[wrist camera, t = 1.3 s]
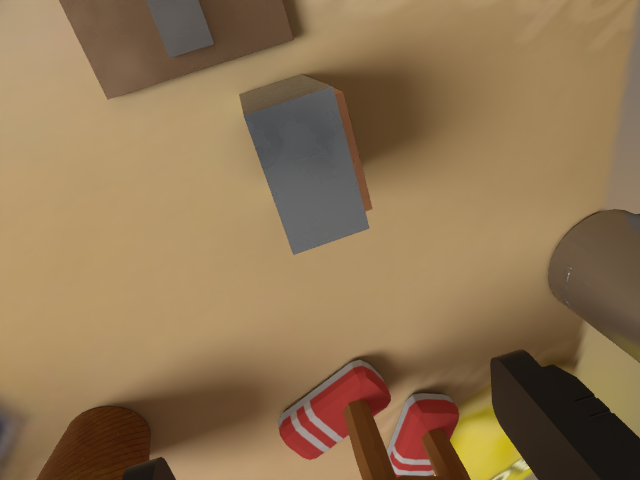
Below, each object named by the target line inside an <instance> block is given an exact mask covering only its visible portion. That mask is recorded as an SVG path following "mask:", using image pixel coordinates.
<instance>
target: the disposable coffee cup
mask: <svg viewBox="0 0 640 480" xmlns="http://www.w3.org/2000/svg"><path fill="white" fill-rule="evenodd" d="M150 435H151V434H150V429H149V427H148V425H147V423H146V422H145V421H144V420H143V419H142V418H141V417H140V416H139V415H138V414H136V413H134V412H132V411H129V410H127V409H123V408H117V407H101V408H95V409H92V410H89V411H86V412H84V413H82V414H80V415H79V416H77V417H76V418H75V419H74V420H73V421H72V422H71V423H70V425H69V426H68V428H67V430H66V432H65V433H64V435H63V436H62V438H61V440H60V441H59V443H58V445H57V446H56V448H55V450H54V451H53V453H52V455H51V456H50V458H49V460H48V461H47V463H46V464H45V466H44V468H43V469H42V471H41V473H40V474H39V476H38V478H37V479H36V480H122V478H123V474H124V472H125V470H126V469H127V468H128V467H130V466H133V465H136V464H140V463H143V462H146V461H149V454H150V449H149V448H150Z"/></svg>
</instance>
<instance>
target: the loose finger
mask: <svg viewBox="0 0 640 480" xmlns="http://www.w3.org/2000/svg"><path fill="white" fill-rule="evenodd" d="M239 96H240V101H241V105H242V110H243V114H244V118H245V121H246V123H247V126H248V129H249V132H250V135H251V137H252V140H253V143H254V146H255V149H256V151H257V154H258V157H259V160H260V163H261V165H262V168H263V171H264V174H265V177H266V179H267V182H268V185H269V188H270V190H271V193H272V196H273V199H274V202H275V204H276V207H277V210H278V213H279V216H280V218H281V221H282V224H283V227H284V230H285V232H286V235H287V238H288V241H289V244H290V246H291V249H292V252H293V255H294V254H297V253H300V252H303V251H306V250H309V249H312V248H315V247H317V246H320V245H323V244H326V243H329V242H332V241H335V240H337V239H340V238H343V237H346V236H349V235H352V234H355V233H358V232H360V231H363V230H366V229H369V225H368V221H367V217H366V213H365V211H368V210H371V209H372V205H371V201H370V197H369V193H368V189H367V185H366V181H365V177H364V173H363V169H362V165H361V161H360V157H359V153H358V149H357V145H356V141H355V137H354V132H353V128H352V124H351V120H350V116H349V112H348V108H347V104H346V100H345V96H344V92H343V91H340V90H338V89H335V88H333V86H330V85H328V84H325V83H322V82H320V81H317V80H315V79H312V78H310V77H307V76H304V75H302V74H301V75H297V76H294V77H291V78H288V79H285V80H282V81H279V82H276V83H273V84H270V85H267V86H264V87H261V88H258V89H255V90H252V91H248V92H245V93H242V94H239Z"/></svg>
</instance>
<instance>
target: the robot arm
mask: <svg viewBox="0 0 640 480" xmlns="http://www.w3.org/2000/svg"><path fill="white" fill-rule="evenodd" d="M548 279H549V285H550V288H551V290H552V293H553V295H554V296H555V297H556V298H557V299H558V300H559V301H560V302H562V303H563V304H564V305H566V306H567V307H568V308H569V309H571V310H572V311H573V312H575V313H576V314H577V315H579V316H580V317H581V318H582V319H584V320H585V321H586V322H588V323H589V324H590V325H591V326H593V327H594V328H595V329H597V330H598V331H599V332H600V333H602V334H603V335H604V336H606V337H607V338H608V339H609V340H611V341H612V342H614V343H615V344H616V345H617V346H619V347H620V348H621V349H622V350H624V351H625V352H626V353H628V354H629V355H630V356H632V357H633V358H634V359H636V360H637V361H638V362H639V363H640V214H633V213H630V212H628V211H625V210H615V209H614V210H607V211H602V212H600V213H597V214H594V215H592V216H590V217H588V218H586V219H585V220H583V221H581V222H580V223H579V224H578V225H576V226H575V227H574V228H573V229H572V230H571V231H570V232H569V233H568V234H567V235H566V236H565V237H564V238H563V240H562V241H561V243H560V244H559V245H558V247H557V249H556V251H555V253H554V255H553V257H552V259H551V263H550V267H549V276H548ZM490 366H491V388H492V405H493V409H494V412H495V415H496V418H497V420H498V422H499V424H500V426H501V427H502V429H503V430H504V432H505V433H506V435H507V436H508V437H509V439H510V440H511V442H512V443H513V445H514V446H515V447H516V449H517V450H518V452H519V453H520V454H521V456H522V457H523V459H524V460H525V462H526V463H527V464H528V466H529V467H530V469H531V470H532V471H533V473H534V474H535V476H536V477H537V479H538V480H640V438H639V437H638V436H637V435H636V434H635V433H634V432H633V431H632V430H631V429H630V428H628V426H627V425H626V424H625V423H623V422H622V421H621V420H620V419H619V418H618V417H617V416H616V415H615V414H614V413H611V412H610V409H609V408H608V407H607V406H606V405H605V404H604V403H603V402H602V401H600V399H598V398H596V397H595V396H594V394H593V393H592V392H591V391H590V390H589V389H588V388H587V387H586V386H585V385H584V384H583V383H582V382H581V381H580V380H579V379H578V378H577V377H575V376H573V375H571V374H570V373H568V372H566V371H564V370H562V369H560V368H558V367H556V366H554V365H553V364H552V365H549V366H546V367H543V368H542V367H541V366H540V365H539V364H538V363H537V362H536V361H535V359H534V358H533V357H532V356H531V355H530V354H529V353H528V352H526V351H525V350H518V351H514V352H511V353H508V354H504V355H501V356H498V357H494V358H492V359H491V363H490ZM122 480H176V479H175V477H174V475H173V473H172V471H171V469H170V468H169V466H168V464H167V462H166V461H165V459H164V458H162V457H159V458H156V459H153V460H150V461H146V462H143V463H140V464H136V465H133V466H130V467H128V468H127V469H126V470H125V472H124V474H123V478H122Z"/></svg>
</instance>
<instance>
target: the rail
mask: <svg viewBox="0 0 640 480" xmlns="http://www.w3.org/2000/svg"><path fill="white" fill-rule="evenodd" d="M59 1H60V3H61V5H62V7H63V9H64V11H65V13H66V15H67V18H68V20H69V22H70V24H71V26H72V28H73V30H74V32H75V34H76V36H77V38H78V40H79V42H80V44H81V46H82V48H83V50H84V52H85V54H86V56H87V58H88V60H89V62H90V64H91V67H92V69H93V71H94V73H95V75H96V77H97V79H98V81H99V83H100V85H101V87H102V89H103V91H104V93H105V95H106V97H107V99H111V98H114V97H117V96H120V95H123V94H126V93H129V92H132V91H135V90H139V89H142V88H145V87H148V86H151V85H154V84H157V83H160V82H163V81H166V80H170V79H173V78H176V77H179V76H182V75H185V74H188V73H191V72H194V71H198V70H201V69H204V68H207V67H210V66H213V65H216V64H219V63H222V62H226V61H229V60H232V59H235V58H238V57H241V56H244V55H247V54H250V53H253V52H257V51H260V50H263V49H266V48H269V47H272V46H275V45H278V44H281V43H285V42H288V41H291V40H294V39H293V35H292V32H291V28H290V25H289V21H288V18H287V14H286V11H285V7H284V4H283V0H59Z"/></svg>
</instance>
